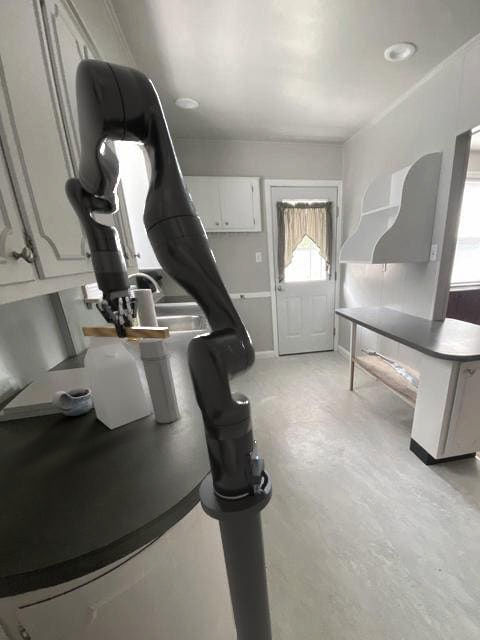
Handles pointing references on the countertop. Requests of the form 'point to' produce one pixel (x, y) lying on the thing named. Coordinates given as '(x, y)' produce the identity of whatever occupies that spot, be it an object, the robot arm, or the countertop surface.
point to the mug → (73, 401)
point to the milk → (114, 382)
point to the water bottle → (159, 379)
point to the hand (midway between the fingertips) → (126, 336)
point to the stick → (127, 332)
